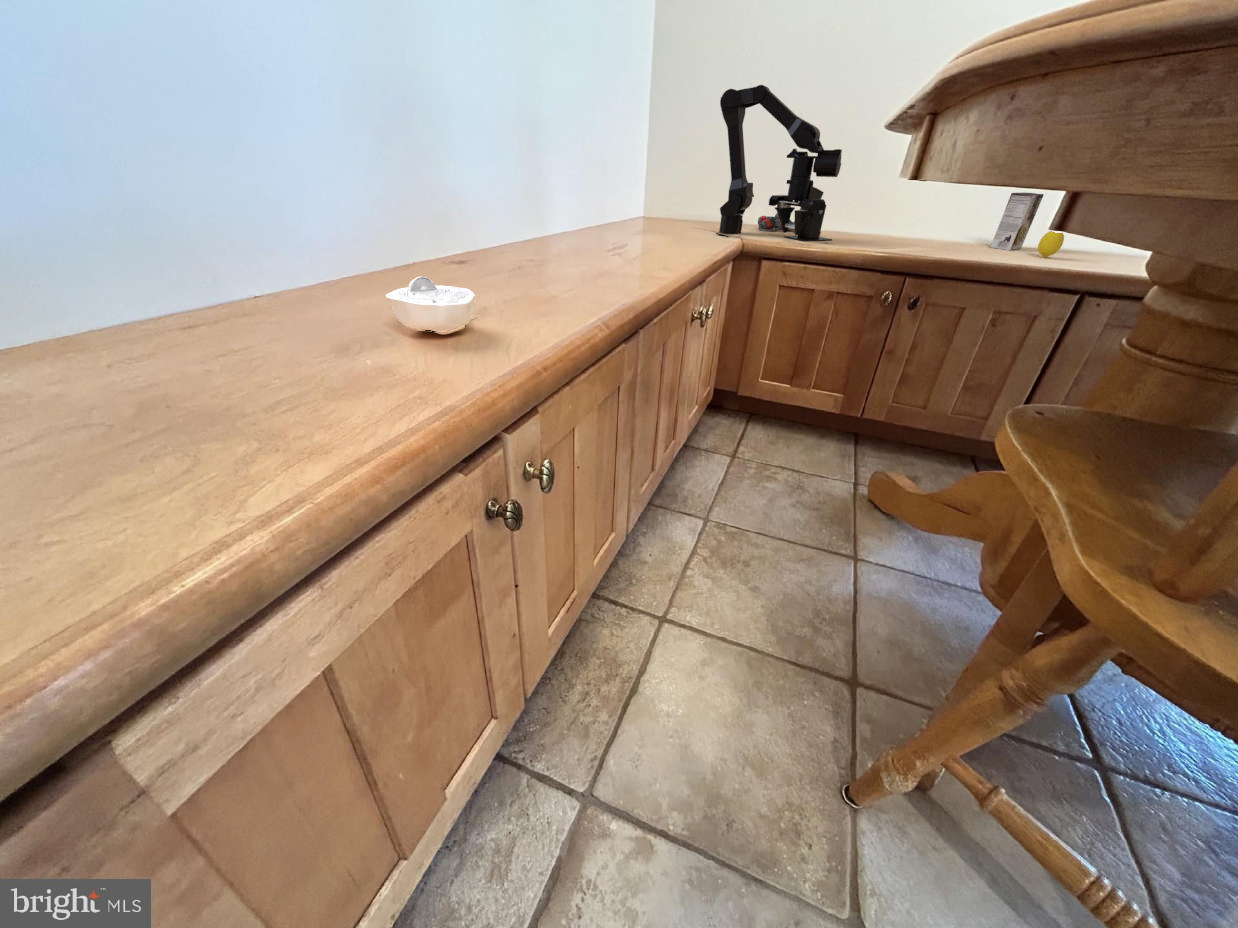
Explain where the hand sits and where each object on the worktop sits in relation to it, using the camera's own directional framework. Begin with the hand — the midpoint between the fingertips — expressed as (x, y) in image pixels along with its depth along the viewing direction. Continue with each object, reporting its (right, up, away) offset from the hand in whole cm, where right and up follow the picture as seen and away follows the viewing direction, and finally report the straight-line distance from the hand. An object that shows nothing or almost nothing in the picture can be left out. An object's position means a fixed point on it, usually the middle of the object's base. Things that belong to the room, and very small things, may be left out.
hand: (790, 233), depth 156 cm
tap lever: (+4, +4, 0) cm, 6 cm away
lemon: (+74, -11, -7) cm, 75 cm away
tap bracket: (+7, -1, +4) cm, 8 cm away
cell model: (-78, -55, -89) cm, 130 cm away
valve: (+4, +9, +20) cm, 22 cm away
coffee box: (+75, 0, +10) cm, 75 cm away
